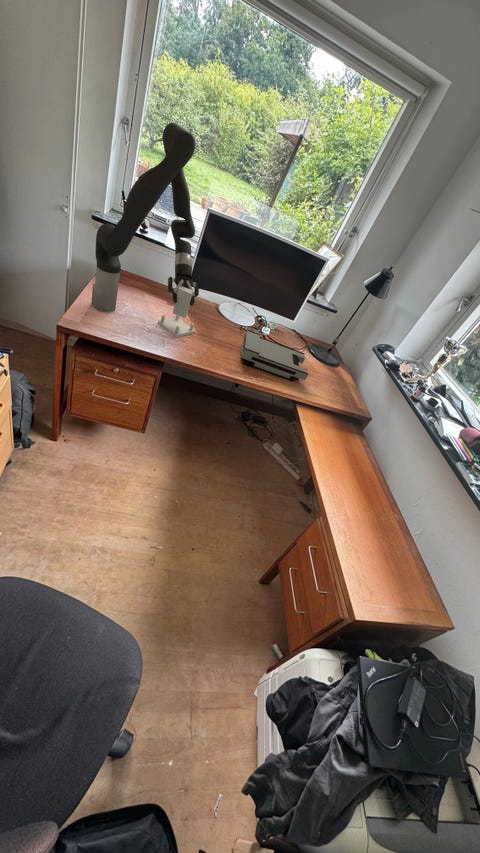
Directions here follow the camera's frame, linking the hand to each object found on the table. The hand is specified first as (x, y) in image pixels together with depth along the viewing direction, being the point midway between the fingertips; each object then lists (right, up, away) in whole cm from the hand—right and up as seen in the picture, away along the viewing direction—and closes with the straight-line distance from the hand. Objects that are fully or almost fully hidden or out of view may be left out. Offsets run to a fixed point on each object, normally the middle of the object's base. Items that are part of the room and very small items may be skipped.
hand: (183, 303), depth 151 cm
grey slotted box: (+40, -24, +17) cm, 50 cm away
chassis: (-5, -8, +9) cm, 13 cm away
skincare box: (-3, -3, +5) cm, 6 cm away
